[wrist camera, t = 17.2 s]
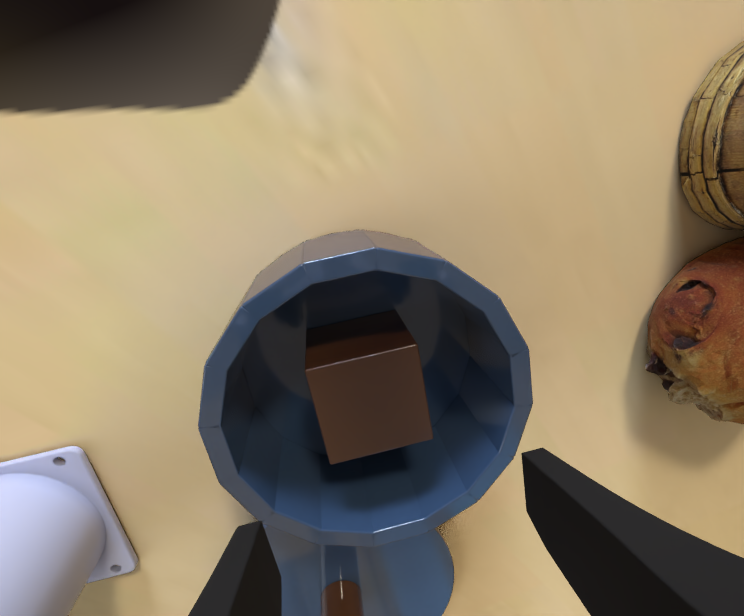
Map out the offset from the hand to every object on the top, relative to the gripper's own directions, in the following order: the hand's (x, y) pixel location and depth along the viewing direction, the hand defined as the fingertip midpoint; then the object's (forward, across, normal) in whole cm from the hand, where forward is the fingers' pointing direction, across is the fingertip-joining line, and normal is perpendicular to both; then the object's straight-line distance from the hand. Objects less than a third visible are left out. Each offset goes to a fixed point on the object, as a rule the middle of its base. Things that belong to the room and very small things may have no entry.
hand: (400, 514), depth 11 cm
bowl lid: (+10, +4, +14) cm, 18 cm away
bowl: (+10, 0, 0) cm, 10 cm away
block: (+10, 0, 0) cm, 10 cm away
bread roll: (+11, -20, +3) cm, 23 cm away
